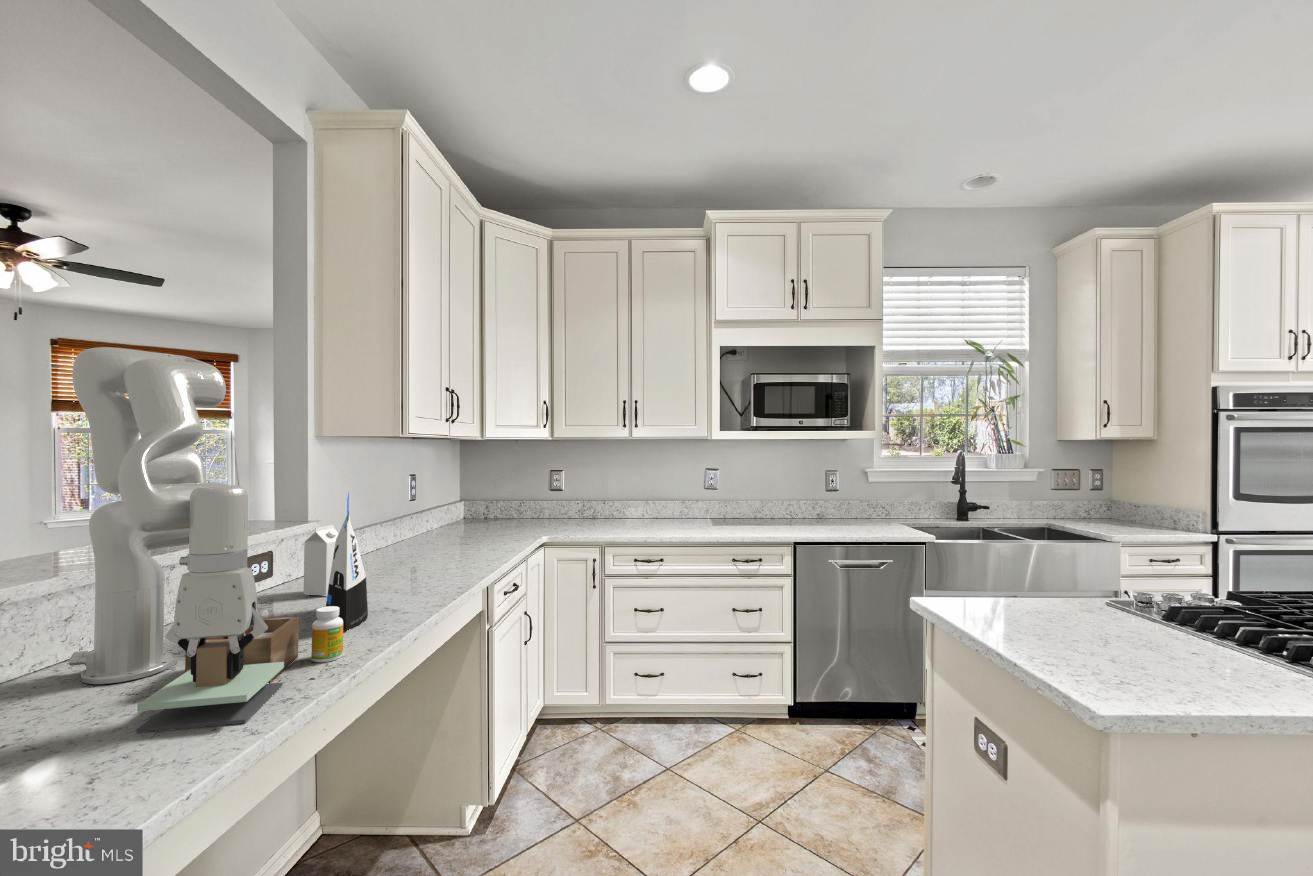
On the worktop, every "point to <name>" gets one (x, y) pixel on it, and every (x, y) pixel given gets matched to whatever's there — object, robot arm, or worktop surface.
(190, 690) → the lid
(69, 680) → the worktop surface
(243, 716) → the rubber mat
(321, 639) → the supplement bottle
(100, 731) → the worktop surface
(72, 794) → the worktop surface
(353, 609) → the protein powder
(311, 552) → the milk carton
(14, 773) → the worktop surface
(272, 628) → the storage box
